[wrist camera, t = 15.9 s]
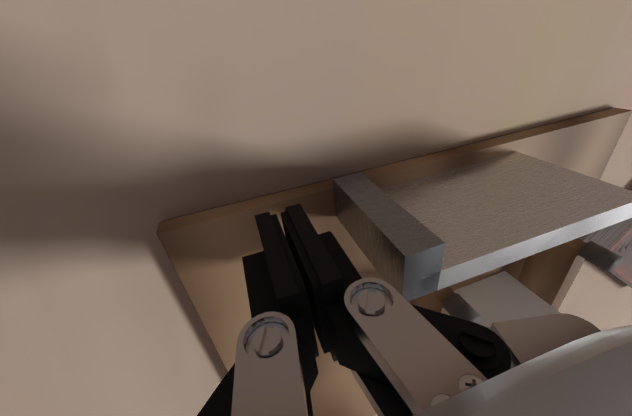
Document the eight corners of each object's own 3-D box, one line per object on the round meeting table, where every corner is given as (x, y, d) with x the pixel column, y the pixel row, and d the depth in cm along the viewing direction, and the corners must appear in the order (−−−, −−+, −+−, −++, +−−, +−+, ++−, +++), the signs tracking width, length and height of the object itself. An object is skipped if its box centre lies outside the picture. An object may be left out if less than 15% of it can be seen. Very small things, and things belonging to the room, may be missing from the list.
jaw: (504, 270, 19) (604, 346, 14) (484, 333, 23) (558, 410, 18) (448, 292, 18) (534, 382, 13) (436, 354, 22) (501, 441, 17)
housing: (614, 107, 16) (743, 127, 12) (512, 340, 27) (561, 387, 24) (159, 221, 11) (133, 319, 7) (271, 448, 22) (284, 531, 18)
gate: (522, 131, 13) (664, 169, 9) (512, 166, 14) (636, 216, 10) (332, 179, 11) (405, 256, 7) (335, 216, 12) (401, 303, 8)
